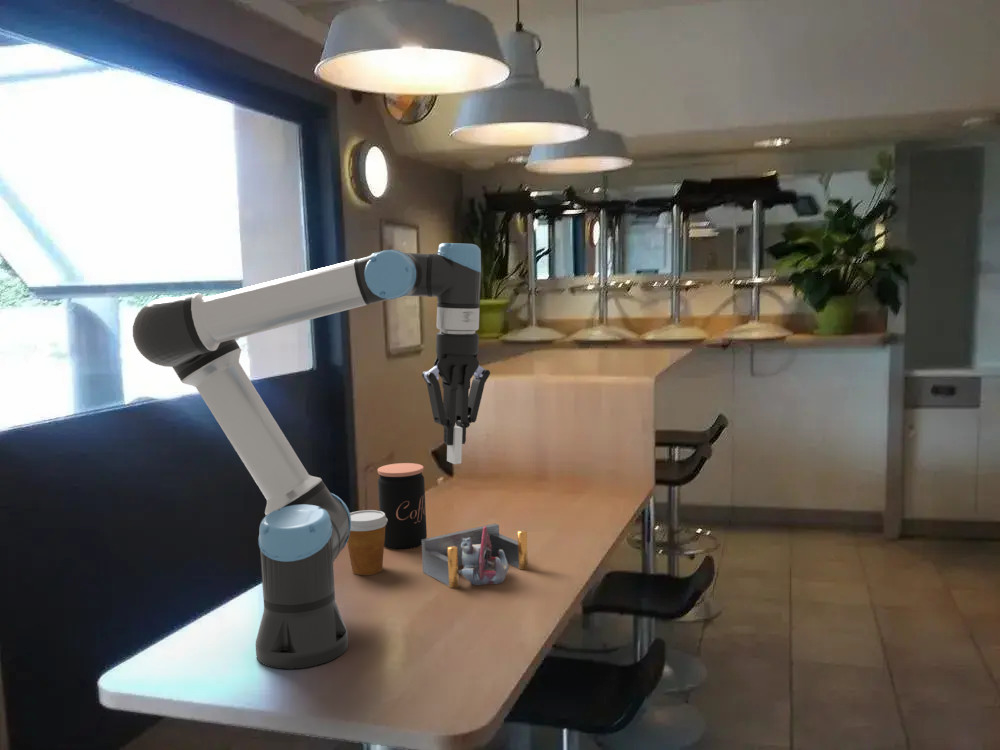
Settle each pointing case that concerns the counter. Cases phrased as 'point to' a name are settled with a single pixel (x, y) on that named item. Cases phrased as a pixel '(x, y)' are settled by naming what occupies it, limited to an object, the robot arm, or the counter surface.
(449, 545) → the bracket
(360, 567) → the disposable coffee cup
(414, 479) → the coffee jar
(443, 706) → the counter surface
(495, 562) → the brake caliper
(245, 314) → the robot arm
